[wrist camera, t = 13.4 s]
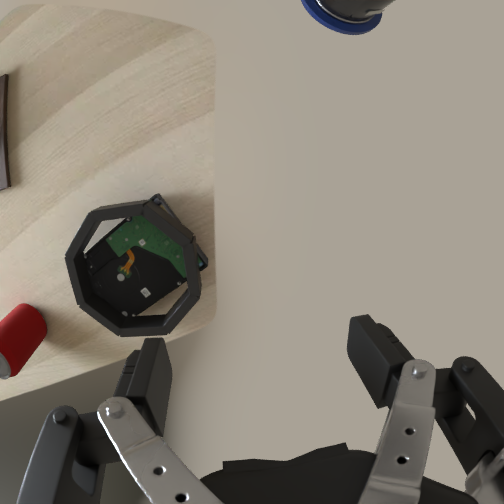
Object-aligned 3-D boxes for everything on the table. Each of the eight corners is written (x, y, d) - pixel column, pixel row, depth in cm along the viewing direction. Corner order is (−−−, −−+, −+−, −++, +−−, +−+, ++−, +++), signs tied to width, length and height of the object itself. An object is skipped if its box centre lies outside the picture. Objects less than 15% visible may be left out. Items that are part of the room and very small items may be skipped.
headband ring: (67, 212, 30) (56, 217, 27) (190, 194, 31) (187, 197, 29) (95, 325, 35) (88, 337, 32) (206, 319, 36) (206, 332, 33)
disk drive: (126, 318, 38) (210, 258, 37) (121, 329, 35) (209, 266, 34) (77, 260, 35) (158, 190, 33) (68, 268, 32) (153, 193, 31)
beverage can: (11, 315, 36) (-27, 354, 24) (27, 292, 35) (-16, 332, 24) (38, 344, 38) (5, 389, 27) (56, 325, 37) (20, 372, 26)
